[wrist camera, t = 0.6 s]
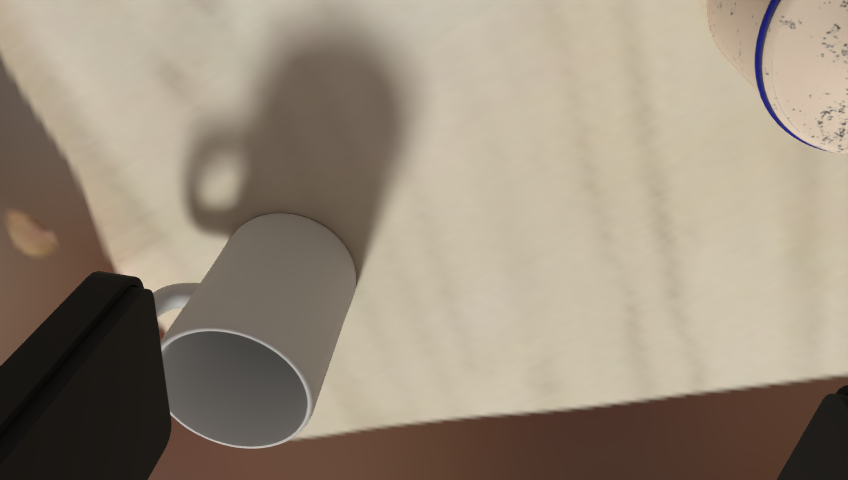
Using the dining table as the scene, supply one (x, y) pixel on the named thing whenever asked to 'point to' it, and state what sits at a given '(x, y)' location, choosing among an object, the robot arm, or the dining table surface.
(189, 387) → the mug
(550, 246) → the dining table surface
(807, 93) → the teacup with lid
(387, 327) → the dining table surface
